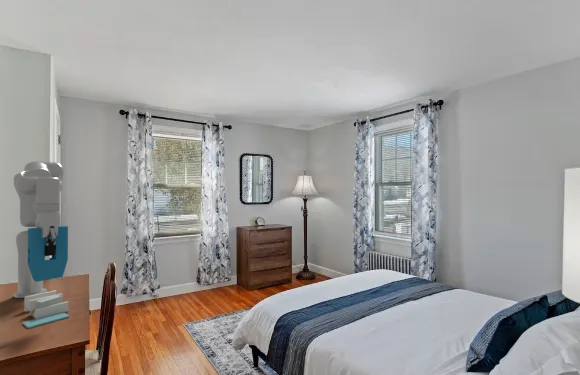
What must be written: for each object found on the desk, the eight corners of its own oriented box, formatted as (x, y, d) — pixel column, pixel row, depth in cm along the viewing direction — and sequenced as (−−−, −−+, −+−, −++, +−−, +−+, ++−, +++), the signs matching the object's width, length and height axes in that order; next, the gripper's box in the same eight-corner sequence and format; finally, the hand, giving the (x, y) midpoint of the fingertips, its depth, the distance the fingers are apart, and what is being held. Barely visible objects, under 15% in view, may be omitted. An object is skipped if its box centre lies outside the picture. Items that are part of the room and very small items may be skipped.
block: (30, 282, 116) (31, 229, 116) (26, 280, 119) (27, 228, 119) (68, 275, 125) (68, 226, 126) (63, 274, 128) (64, 225, 129)
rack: (24, 311, 131) (24, 296, 131) (55, 303, 140) (55, 290, 140) (35, 319, 122) (35, 304, 122) (68, 311, 131) (68, 297, 131)
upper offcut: (34, 308, 125) (35, 301, 126) (55, 302, 133) (55, 295, 133) (41, 309, 124) (41, 302, 124) (62, 303, 132) (62, 296, 132)
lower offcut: (31, 316, 126) (31, 308, 126) (60, 309, 134) (60, 301, 134) (35, 319, 123) (35, 310, 123) (64, 311, 132) (64, 303, 132)
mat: (22, 323, 118) (22, 322, 118) (62, 313, 129) (62, 311, 129) (28, 328, 114) (28, 327, 114) (69, 317, 124) (69, 315, 124)
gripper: (29, 208, 124) (28, 253, 124) (43, 209, 114) (42, 259, 114) (51, 207, 130) (51, 250, 130) (67, 208, 120) (66, 255, 120)
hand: (47, 254), depth 122 cm, fingers closed on block, 5 cm apart
